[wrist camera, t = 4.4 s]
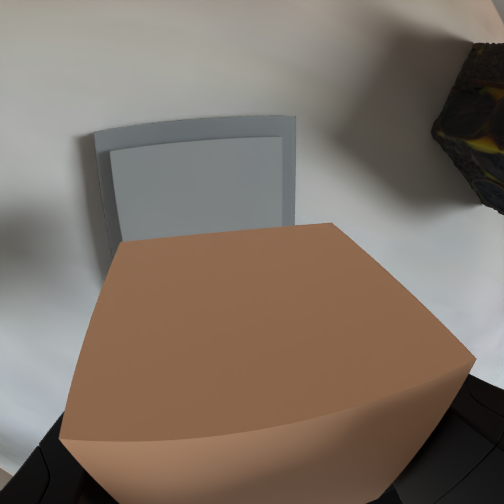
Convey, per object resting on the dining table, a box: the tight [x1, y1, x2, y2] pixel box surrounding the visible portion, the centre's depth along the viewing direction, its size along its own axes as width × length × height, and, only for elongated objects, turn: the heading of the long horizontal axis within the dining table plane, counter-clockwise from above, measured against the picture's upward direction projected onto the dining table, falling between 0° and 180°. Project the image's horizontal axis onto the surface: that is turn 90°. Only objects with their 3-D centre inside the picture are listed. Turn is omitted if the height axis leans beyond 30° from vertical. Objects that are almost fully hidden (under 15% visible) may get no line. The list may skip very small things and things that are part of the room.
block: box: [59, 223, 476, 504], centre depth 6 cm, size 5×5×5 cm
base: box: [94, 116, 296, 258], centre depth 16 cm, size 10×10×2 cm
